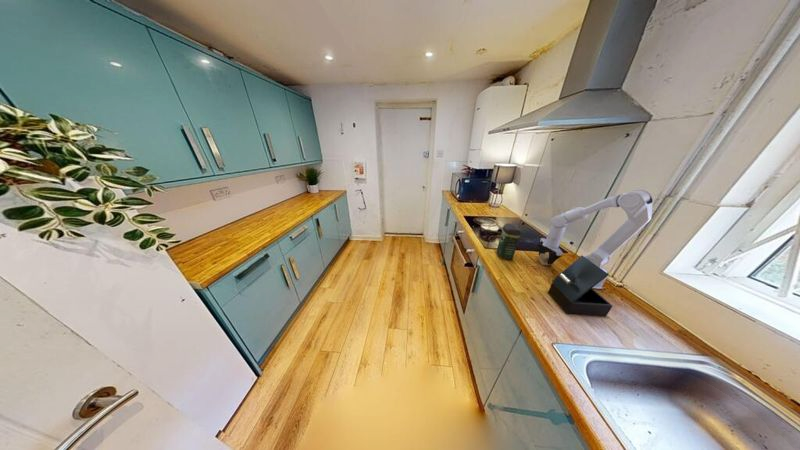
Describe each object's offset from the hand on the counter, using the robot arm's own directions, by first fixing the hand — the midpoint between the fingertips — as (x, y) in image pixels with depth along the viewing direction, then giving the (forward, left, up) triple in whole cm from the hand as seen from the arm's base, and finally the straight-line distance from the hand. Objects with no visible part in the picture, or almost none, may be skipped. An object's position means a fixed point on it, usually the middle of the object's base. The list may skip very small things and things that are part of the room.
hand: (545, 259), depth 105 cm
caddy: (+5, +29, -2) cm, 29 cm away
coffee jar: (+19, -5, -2) cm, 20 cm away
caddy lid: (+9, +29, +11) cm, 32 cm away
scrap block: (0, 0, -2) cm, 2 cm away
